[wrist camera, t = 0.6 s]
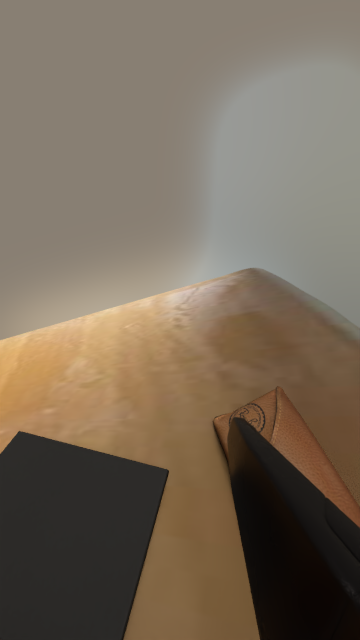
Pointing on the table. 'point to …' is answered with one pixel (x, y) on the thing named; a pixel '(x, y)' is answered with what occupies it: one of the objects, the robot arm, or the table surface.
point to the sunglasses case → (292, 445)
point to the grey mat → (71, 539)
